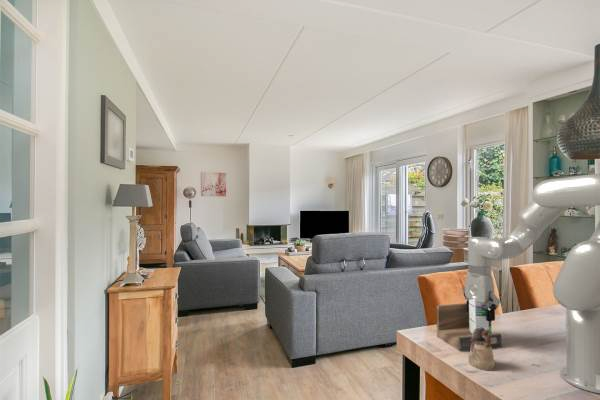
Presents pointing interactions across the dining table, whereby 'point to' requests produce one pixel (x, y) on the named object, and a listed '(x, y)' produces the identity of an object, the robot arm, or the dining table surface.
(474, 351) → the figurine
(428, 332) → the dining table surface
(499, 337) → the shelf
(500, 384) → the dining table surface
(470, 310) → the syrup box
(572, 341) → the robot arm
